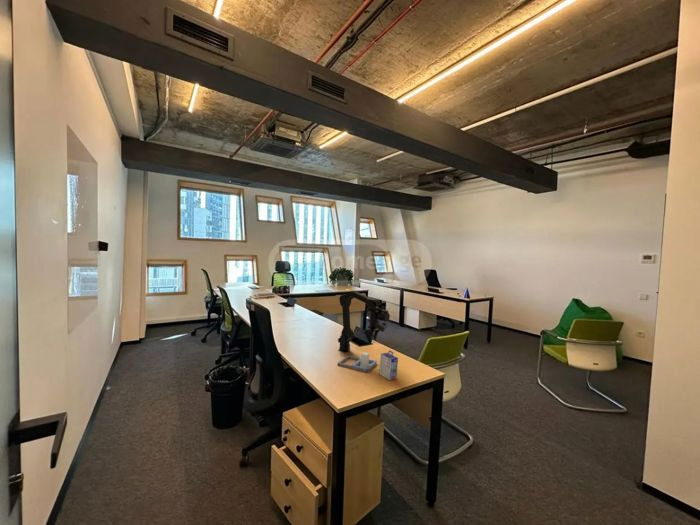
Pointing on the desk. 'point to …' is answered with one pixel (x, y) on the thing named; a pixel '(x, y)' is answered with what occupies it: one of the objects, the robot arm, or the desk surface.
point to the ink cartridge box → (388, 365)
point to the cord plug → (364, 360)
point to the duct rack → (355, 365)
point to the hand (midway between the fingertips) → (372, 341)
